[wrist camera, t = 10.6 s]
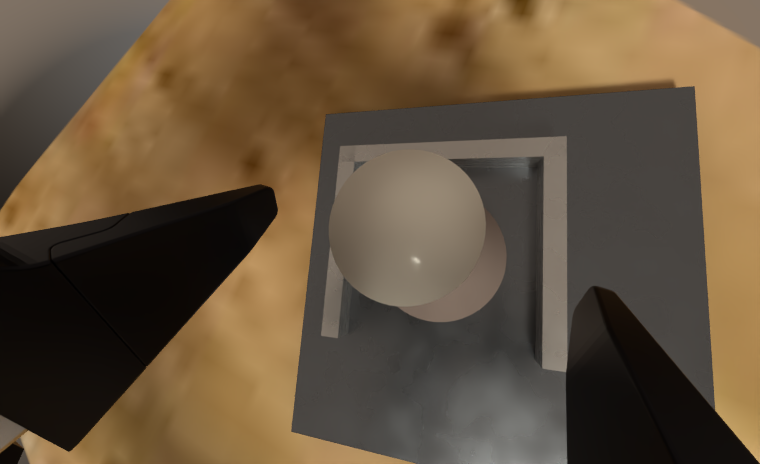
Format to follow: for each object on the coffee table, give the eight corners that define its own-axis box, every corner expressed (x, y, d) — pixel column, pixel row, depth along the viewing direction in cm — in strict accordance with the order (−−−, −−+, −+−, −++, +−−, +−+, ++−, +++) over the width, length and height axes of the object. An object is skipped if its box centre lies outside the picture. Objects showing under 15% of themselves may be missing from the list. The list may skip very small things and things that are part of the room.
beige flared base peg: (514, 315, 16) (590, 369, 6) (384, 323, 17) (284, 376, 8) (492, 185, 17) (526, 63, 7) (373, 206, 19) (275, 128, 9)
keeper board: (681, 97, 16) (718, 66, 14) (704, 522, 13) (756, 575, 11) (332, 121, 22) (315, 102, 19) (300, 423, 19) (276, 444, 16)
